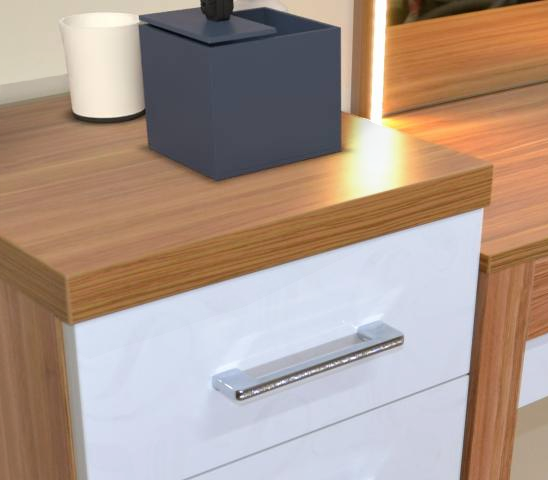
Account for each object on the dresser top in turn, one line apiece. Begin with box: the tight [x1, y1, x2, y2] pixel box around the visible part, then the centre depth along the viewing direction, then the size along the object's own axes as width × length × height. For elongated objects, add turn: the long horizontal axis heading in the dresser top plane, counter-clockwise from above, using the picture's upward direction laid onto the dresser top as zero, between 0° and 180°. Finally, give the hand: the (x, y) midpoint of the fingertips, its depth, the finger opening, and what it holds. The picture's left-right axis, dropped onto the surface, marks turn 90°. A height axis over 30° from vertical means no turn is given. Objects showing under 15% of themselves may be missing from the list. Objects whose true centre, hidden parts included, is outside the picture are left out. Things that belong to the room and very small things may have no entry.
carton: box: [138, 7, 342, 182], centre depth 115 cm, size 15×13×12 cm
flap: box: [138, 6, 276, 44], centre depth 109 cm, size 7×13×1 cm, turn 39°
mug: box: [58, 11, 146, 124], centre depth 127 cm, size 11×9×10 cm
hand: (217, 19), depth 110 cm, fingers closed
